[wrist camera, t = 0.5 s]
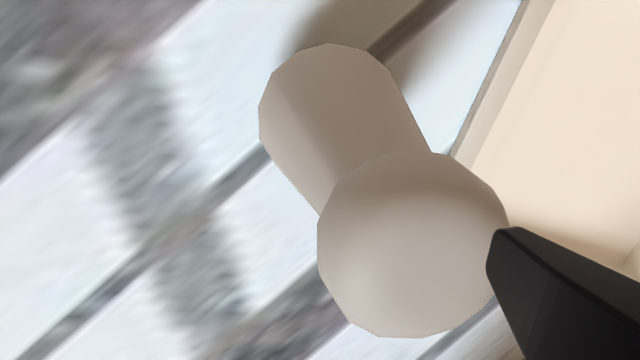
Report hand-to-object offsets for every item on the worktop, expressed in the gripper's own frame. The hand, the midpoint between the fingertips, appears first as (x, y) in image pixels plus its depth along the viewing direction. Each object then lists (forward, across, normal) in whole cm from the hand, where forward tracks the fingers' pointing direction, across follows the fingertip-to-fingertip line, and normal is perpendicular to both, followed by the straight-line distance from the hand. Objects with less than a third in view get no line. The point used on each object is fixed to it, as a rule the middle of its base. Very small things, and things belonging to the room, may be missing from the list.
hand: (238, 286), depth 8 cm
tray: (+13, -19, +5) cm, 23 cm away
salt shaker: (+14, -4, +3) cm, 15 cm away
